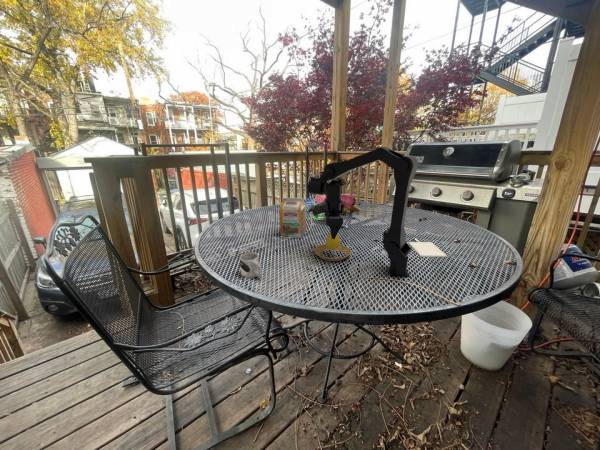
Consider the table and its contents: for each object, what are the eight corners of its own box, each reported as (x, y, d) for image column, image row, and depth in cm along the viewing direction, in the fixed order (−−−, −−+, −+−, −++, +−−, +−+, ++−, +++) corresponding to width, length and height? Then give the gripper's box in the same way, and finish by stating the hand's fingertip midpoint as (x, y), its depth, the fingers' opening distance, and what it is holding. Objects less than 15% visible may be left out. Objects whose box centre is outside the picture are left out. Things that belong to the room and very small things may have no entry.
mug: (237, 273, 91) (235, 256, 89) (252, 267, 95) (251, 251, 93) (253, 283, 84) (251, 265, 82) (269, 276, 88) (268, 259, 86)
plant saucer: (309, 252, 108) (308, 246, 107) (339, 247, 113) (339, 241, 112) (324, 267, 95) (324, 260, 94) (357, 260, 100) (358, 254, 99)
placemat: (446, 257, 100) (446, 255, 100) (420, 256, 101) (420, 255, 101) (431, 243, 113) (431, 242, 113) (408, 243, 114) (408, 242, 114)
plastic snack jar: (280, 237, 124) (278, 199, 118) (286, 230, 134) (285, 195, 128) (301, 239, 122) (300, 200, 116) (306, 232, 131) (305, 196, 126)
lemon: (330, 246, 107) (331, 228, 104) (341, 250, 104) (342, 231, 101) (323, 250, 103) (323, 232, 100) (334, 254, 100) (335, 235, 97)
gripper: (312, 191, 106) (312, 227, 111) (312, 202, 88) (312, 243, 93) (339, 191, 105) (338, 227, 110) (344, 201, 87) (342, 243, 92)
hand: (332, 234), depth 101 cm, fingers open, 9 cm apart
